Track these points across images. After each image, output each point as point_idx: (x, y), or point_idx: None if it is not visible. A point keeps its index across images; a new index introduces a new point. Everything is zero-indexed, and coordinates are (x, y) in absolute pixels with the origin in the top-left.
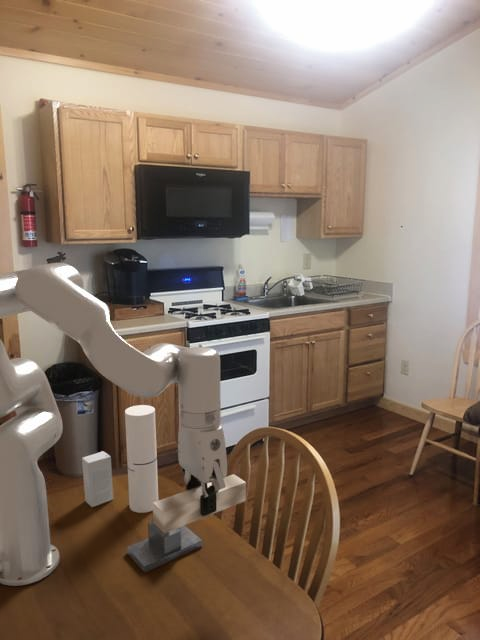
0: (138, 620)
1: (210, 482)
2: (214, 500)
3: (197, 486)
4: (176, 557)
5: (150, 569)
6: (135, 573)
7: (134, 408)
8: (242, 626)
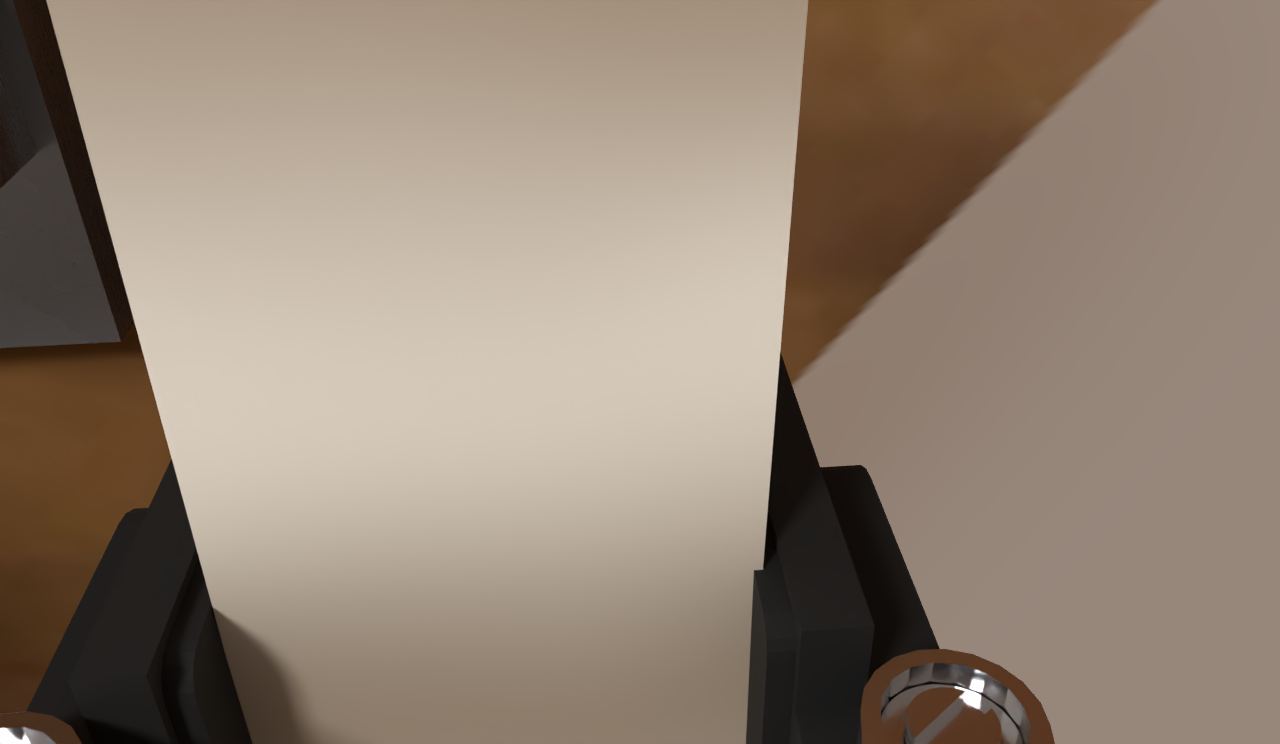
0: None
1: (156, 372)
2: (907, 591)
3: (234, 705)
4: (50, 25)
5: None
6: (114, 362)
7: None
8: (1060, 9)
